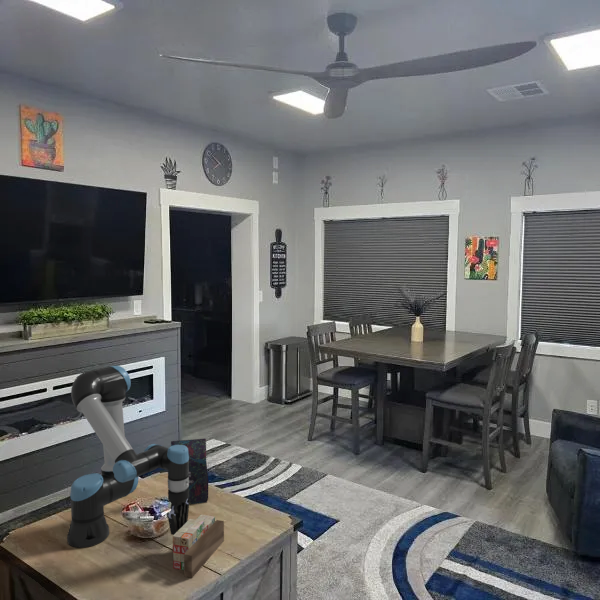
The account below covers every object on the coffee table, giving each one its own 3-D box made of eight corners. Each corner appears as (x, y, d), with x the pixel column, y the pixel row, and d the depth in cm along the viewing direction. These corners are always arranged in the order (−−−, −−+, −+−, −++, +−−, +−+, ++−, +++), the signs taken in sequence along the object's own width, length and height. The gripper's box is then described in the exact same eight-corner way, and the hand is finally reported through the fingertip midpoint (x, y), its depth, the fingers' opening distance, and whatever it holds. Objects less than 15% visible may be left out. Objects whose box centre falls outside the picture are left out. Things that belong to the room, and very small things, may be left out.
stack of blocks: (201, 536, 200) (201, 506, 199) (215, 539, 198) (215, 508, 197) (173, 568, 180) (172, 535, 178) (188, 571, 178) (188, 538, 177)
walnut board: (184, 576, 175) (184, 554, 174) (217, 539, 198) (216, 519, 197) (192, 578, 174) (191, 555, 173) (224, 540, 197) (223, 521, 196)
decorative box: (171, 498, 231) (169, 438, 229) (207, 494, 235) (206, 435, 233) (170, 506, 223) (169, 444, 221) (208, 502, 227) (207, 441, 225)
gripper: (177, 497, 180) (178, 560, 182) (196, 482, 192) (197, 541, 194) (159, 494, 182) (160, 556, 184) (179, 479, 194) (179, 537, 197)
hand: (179, 548), depth 189 cm, fingers closed
